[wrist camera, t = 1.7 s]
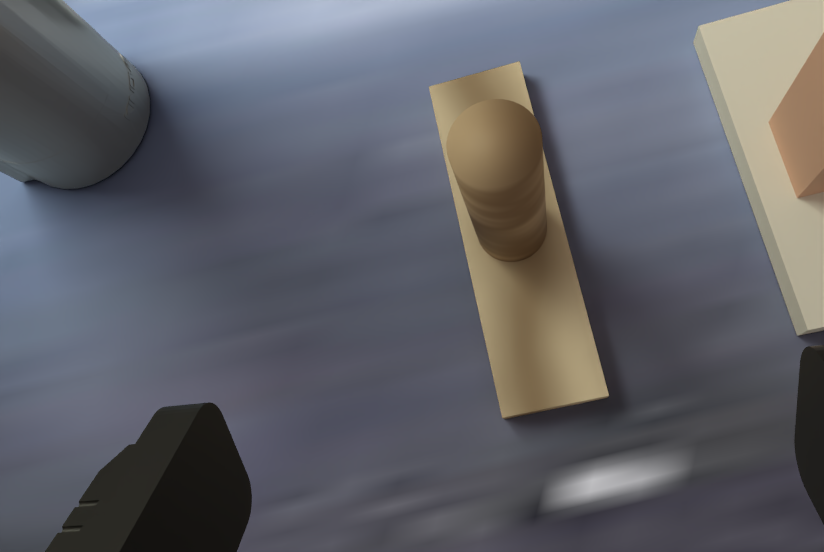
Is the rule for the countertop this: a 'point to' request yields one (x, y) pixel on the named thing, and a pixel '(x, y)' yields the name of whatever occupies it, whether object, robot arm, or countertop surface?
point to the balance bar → (516, 245)
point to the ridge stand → (777, 136)
